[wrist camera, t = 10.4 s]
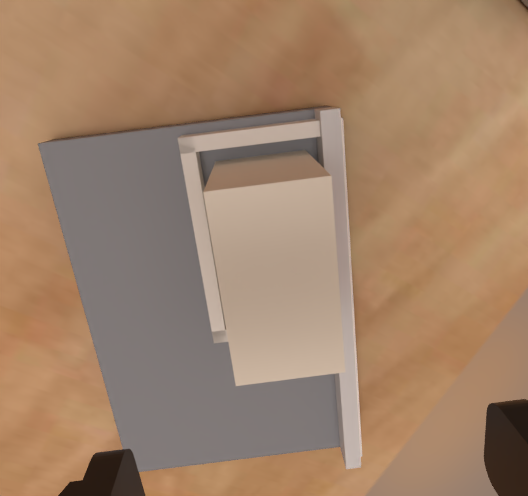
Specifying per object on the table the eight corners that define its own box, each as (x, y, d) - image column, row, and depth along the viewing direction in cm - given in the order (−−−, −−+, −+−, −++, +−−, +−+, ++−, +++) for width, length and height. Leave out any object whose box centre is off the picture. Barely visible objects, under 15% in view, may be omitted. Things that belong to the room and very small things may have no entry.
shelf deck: (52, 139, 26) (20, 148, 22) (329, 105, 26) (344, 107, 22) (136, 451, 34) (122, 497, 30) (350, 425, 34) (364, 466, 30)
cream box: (215, 161, 25) (203, 192, 17) (307, 149, 25) (335, 175, 17) (238, 306, 28) (235, 386, 20) (320, 295, 28) (348, 371, 20)
